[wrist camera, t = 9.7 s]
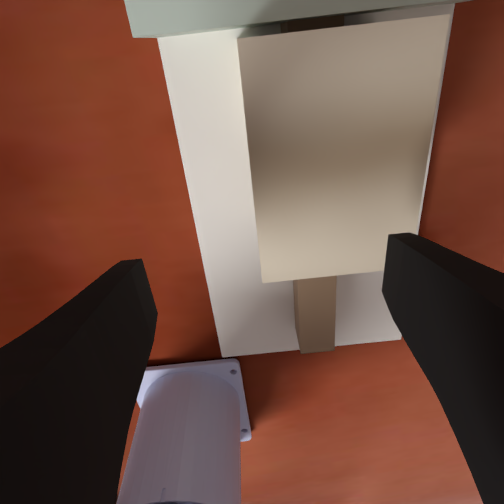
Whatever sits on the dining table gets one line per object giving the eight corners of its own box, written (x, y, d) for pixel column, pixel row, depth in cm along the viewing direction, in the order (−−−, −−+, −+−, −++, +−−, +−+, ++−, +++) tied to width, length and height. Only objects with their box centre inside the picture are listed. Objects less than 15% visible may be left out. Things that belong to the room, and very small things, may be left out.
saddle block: (362, 204, 19) (410, 267, 13) (255, 215, 19) (262, 283, 14) (373, 22, 14) (450, 13, 9) (236, 38, 15) (237, 38, 9)
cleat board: (395, 329, 25) (429, 390, 20) (222, 346, 25) (219, 410, 21) (449, -41, 14) (540, -74, 10) (153, -5, 14) (118, -24, 10)
